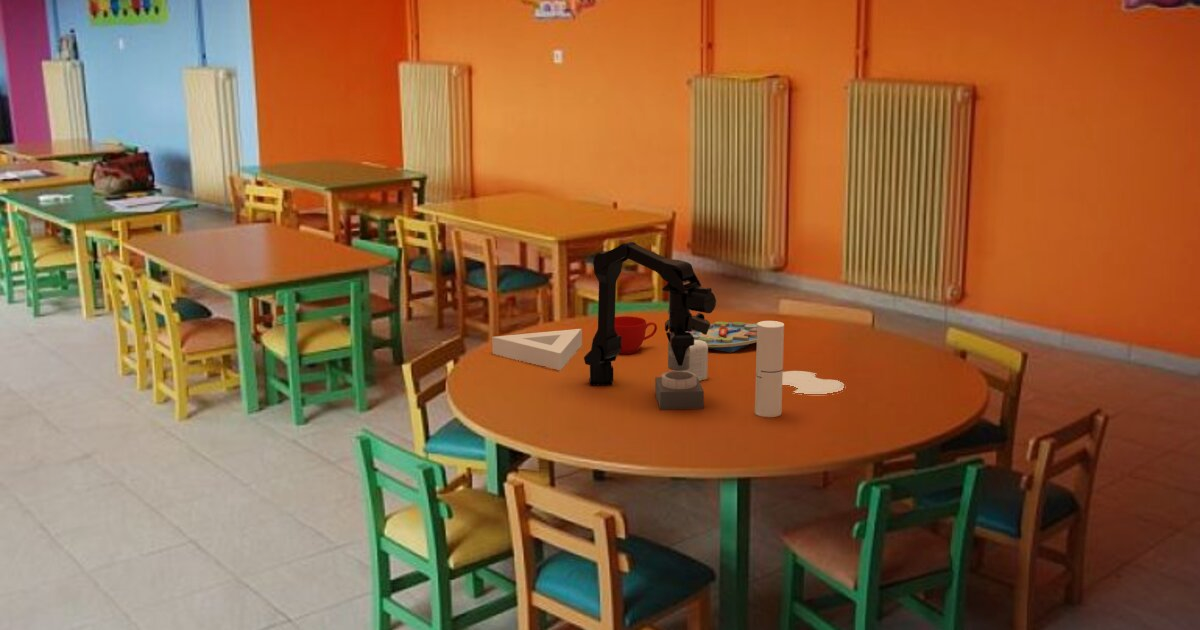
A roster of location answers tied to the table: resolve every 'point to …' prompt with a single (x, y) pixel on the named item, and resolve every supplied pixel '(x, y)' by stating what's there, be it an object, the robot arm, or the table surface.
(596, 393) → the table surface
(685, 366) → the grey rounded block
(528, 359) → the triangle block
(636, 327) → the ceramic cup
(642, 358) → the table surface
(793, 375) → the white puddle shape
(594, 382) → the robot arm
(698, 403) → the gray ring-topped block
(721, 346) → the shape sorting clock
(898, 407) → the table surface
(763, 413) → the cylindrical container
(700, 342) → the white rounded device
